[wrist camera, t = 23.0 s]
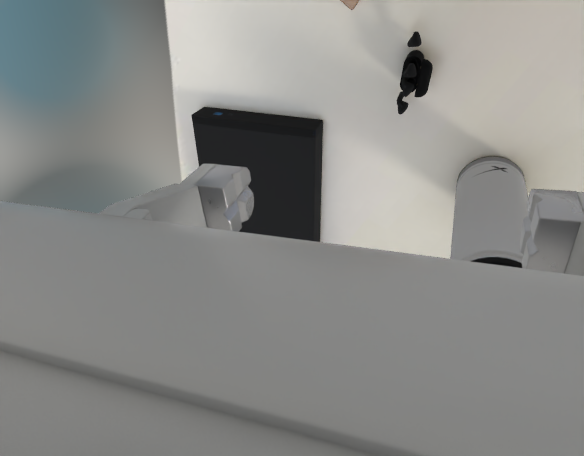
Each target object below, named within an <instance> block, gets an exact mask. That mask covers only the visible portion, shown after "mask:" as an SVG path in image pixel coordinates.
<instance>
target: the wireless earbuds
mask: <svg viewBox="0 0 584 456" xmlns="http://www.w3.org/2000/svg"><path fill="white" fill-rule="evenodd" d="M420 45H421V38H420V35H419V33H418V32H414V34H413V36H412V37H411V38H410V40H409V42H408V46H409V47H417V46H420ZM431 73H432V64H431V62H430V61H428V60H426V59H424V55H423V53H422V52H420V51H418V50H414V51H412V52H410V53H409V54H408V56H407V58H406V60H405V62H404V66H403V71H402V76H401V81H400V87H401V89H402V90H403V92H400V94H399V96H398V98H397V104H398V114H402V113H404V112H405V110H406V109H407V107H408V103H407V102H404V101H402V99H403V97H404V96H405V97H407V96H408V95H409V94H410V93H411V92H413V91H414V90H415V89H416V92H415V97H422V96H424V95H425V94H426V93H427V91H428V87H429V82H430V78H431Z"/></svg>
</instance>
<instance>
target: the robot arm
mask: <svg viewBox="0 0 584 456" xmlns="http://www.w3.org/2000/svg"><path fill="white" fill-rule="evenodd" d="M250 182H251V176H250V171H249V170H248V168H247V167H238V166H228V165H218V164H202V165H201V166H200V167H199V168H197V169H196V170H195V171H194V172H193V173H192V174H190V175H189V176H188V177H187V178H186V179H185V180H183V181H182V182H181V183H180V184H173V185H170V186H166V187H163V188H160V189H157V190H154V191H151V192H148V193H145V194H142V195H138V196H135V197H132V198H129V199H126V200H123V201H120V202H116V203H113V204H111V205H109V206H108V207H107V208H105V209H104V210H103V211H101V212H100V213H99V214H97V213H90V212H82V211H74V210H66V209H58V208H51V207H42V206H35V205H27V204H18V203H12V202H6V201H0V456H584V192H576V191H562V190H544V189H532V190H531V191H530V194H529V198H528V202H527V209H528V216H526V217H525V218H524V219H523V223H522V228H521V235H520V252H521V253H522V254H523V259H522V268H517V267H510V266H502V265H494V264H486V263H478V262H471V261H463V260H455V259H447V258H439V257H432V256H424V255H416V254H408V253H401V252H393V251H385V250H377V249H370V248H362V247H354V246H346V245H339V244H331V243H323V242H315V241H308V240H300V239H292V238H284V237H276V236H269V235H261V234H253V233H245V232H239V231H240V229H241V228H242V224H241V223H242V222H244V221H247V220H248V219H249V218H250V216H251V215H252V212H253V208H254V195H253V192H252V191H251V190H250V188H249V187H248V185H249V184H250Z"/></svg>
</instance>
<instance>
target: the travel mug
mask: <svg viewBox="0 0 584 456" xmlns="http://www.w3.org/2000/svg"><path fill="white" fill-rule="evenodd" d="M527 202H528V195H527V189H526V184H525V179H524V175H523V173H522V171H521V169H520V168H519V167H518V166H517V165H516V164H514V163H513V162H512V161H510V160H507V159H505V158H501V157H484V158H481V159H478V160H475V161H473V162H471V163H470V164H468V165H467V166H466V167H465V168H464V169H463V170H462V172H461V173H460V175H459V177H458V180H457V186H456V198H455V210H454V222H453V233H452V245H451V257H450V259H455V260H463V261H471V262H478V263H486V264H494V265H502V266H510V267H517V268H522V259H523V254H522V253H521V252H520V235H521V228H522V223H523V219H524V218H525V217H526V216H528V209H527Z"/></svg>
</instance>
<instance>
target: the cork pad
mask: <svg viewBox="0 0 584 456" xmlns="http://www.w3.org/2000/svg"><path fill="white" fill-rule="evenodd" d="M340 1H342V2H343V3H344V4H345V5H346V6H347V7H349V8H350V9H351V10H353V9H354V7H355V6H356V4H357V3H358V1H359V0H340Z"/></svg>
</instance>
